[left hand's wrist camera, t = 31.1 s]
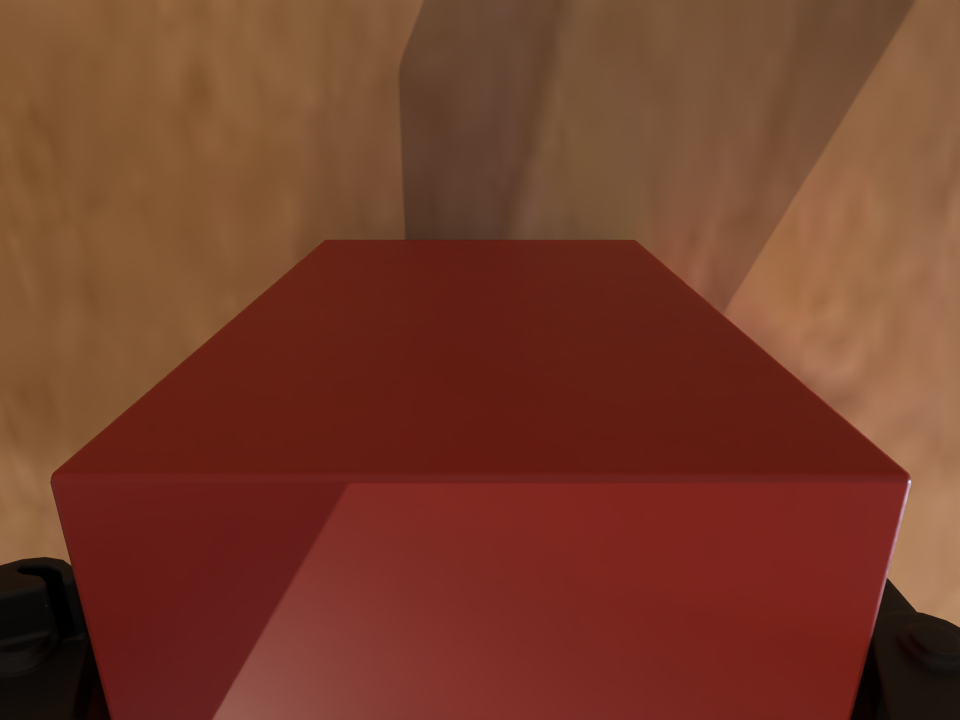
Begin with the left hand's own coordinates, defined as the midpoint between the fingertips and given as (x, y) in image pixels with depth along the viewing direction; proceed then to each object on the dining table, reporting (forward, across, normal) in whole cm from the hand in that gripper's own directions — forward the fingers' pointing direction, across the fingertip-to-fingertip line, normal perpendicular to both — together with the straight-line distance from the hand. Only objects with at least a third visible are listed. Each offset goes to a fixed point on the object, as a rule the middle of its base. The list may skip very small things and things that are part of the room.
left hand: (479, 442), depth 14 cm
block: (+3, 0, 0) cm, 3 cm away
